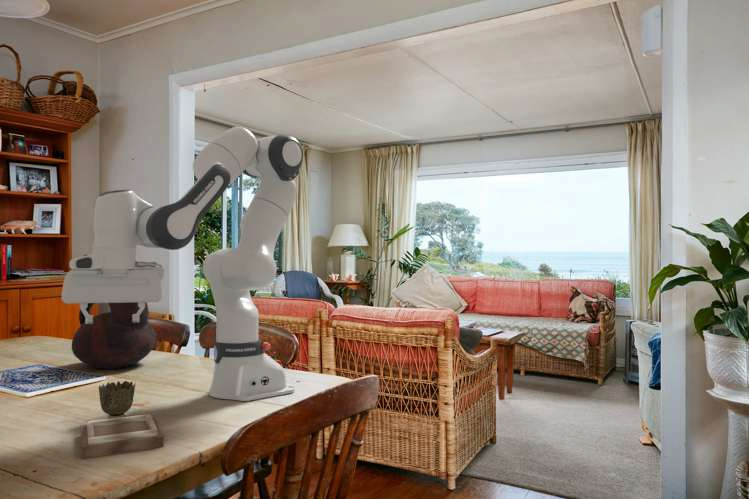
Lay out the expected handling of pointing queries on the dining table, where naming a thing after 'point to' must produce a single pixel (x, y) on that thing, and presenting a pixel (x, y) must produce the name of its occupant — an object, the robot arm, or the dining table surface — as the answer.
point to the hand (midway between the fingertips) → (112, 323)
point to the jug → (114, 337)
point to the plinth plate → (120, 435)
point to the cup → (116, 398)
